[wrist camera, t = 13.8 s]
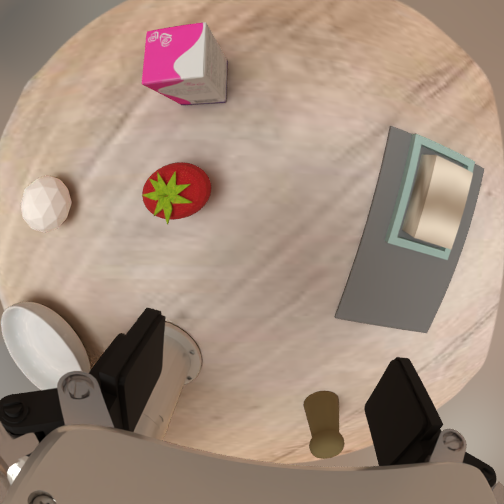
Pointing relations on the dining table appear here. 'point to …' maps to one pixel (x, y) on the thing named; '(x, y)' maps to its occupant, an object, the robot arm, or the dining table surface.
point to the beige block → (437, 201)
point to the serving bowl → (42, 344)
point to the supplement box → (185, 64)
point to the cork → (324, 424)
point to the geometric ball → (45, 203)
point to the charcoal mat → (400, 254)
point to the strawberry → (176, 191)
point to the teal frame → (406, 188)
